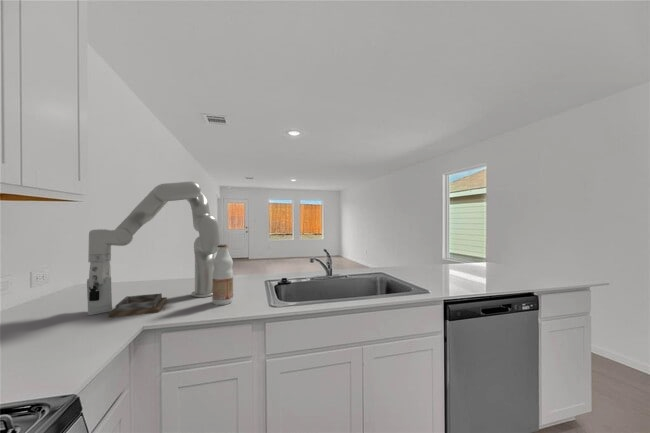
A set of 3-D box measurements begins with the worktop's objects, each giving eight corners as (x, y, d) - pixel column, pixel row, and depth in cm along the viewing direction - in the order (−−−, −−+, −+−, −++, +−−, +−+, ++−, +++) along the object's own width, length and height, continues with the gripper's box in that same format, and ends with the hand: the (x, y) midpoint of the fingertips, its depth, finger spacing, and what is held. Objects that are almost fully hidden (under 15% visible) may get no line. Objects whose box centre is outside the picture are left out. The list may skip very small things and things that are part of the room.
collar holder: (166, 300, 136) (166, 292, 136) (159, 312, 119) (159, 302, 119) (123, 304, 130) (123, 295, 130) (108, 317, 113) (108, 307, 113)
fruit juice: (216, 306, 127) (216, 246, 127) (209, 301, 134) (210, 244, 134) (236, 302, 133) (236, 244, 133) (228, 298, 140) (229, 243, 140)
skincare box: (111, 308, 124) (111, 275, 124) (112, 311, 119) (112, 277, 119) (87, 312, 119) (87, 277, 119) (86, 316, 114) (86, 280, 114)
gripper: (102, 260, 112) (101, 302, 112) (117, 255, 128) (116, 291, 128) (79, 261, 110) (78, 304, 110) (97, 255, 126) (96, 293, 126)
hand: (99, 297), depth 119 cm, fingers open, 9 cm apart
